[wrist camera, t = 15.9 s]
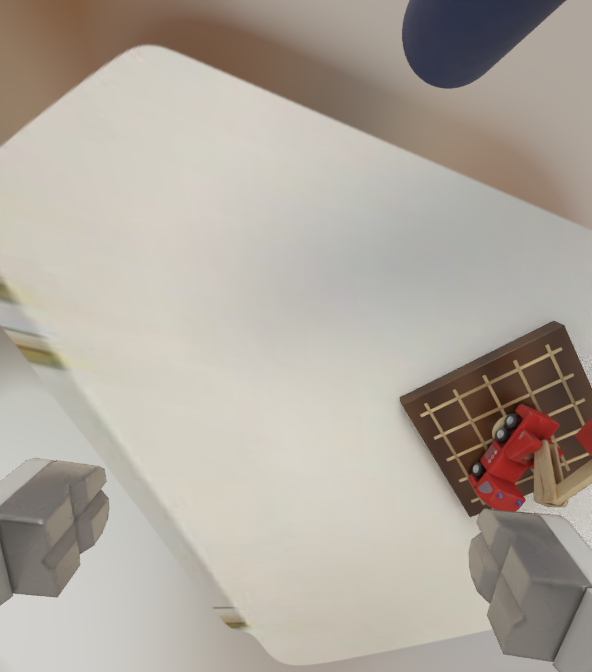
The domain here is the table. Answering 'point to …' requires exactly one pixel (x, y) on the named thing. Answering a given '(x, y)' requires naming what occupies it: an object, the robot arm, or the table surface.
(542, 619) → the robot arm
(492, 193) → the table surface
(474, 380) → the board
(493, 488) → the toy fire truck
